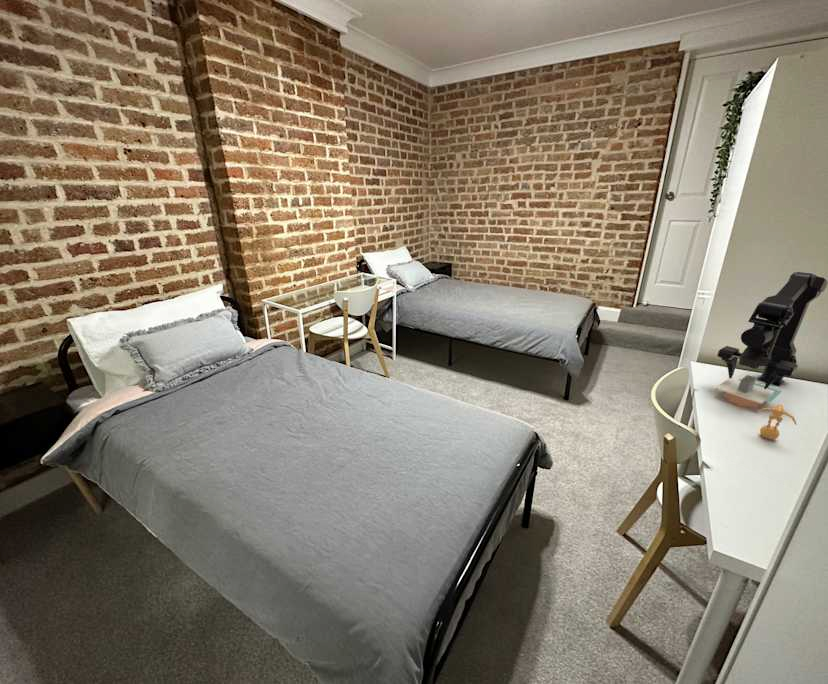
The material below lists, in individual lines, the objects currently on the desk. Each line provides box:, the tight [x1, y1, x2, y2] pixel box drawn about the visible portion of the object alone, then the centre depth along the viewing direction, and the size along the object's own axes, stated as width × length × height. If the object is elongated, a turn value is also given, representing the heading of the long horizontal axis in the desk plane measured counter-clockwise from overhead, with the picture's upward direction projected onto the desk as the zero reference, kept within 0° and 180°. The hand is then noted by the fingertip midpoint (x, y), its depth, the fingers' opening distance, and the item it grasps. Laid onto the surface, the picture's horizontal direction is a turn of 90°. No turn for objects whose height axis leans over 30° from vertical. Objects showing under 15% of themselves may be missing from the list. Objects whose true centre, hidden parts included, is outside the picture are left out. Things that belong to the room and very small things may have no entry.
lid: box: [716, 374, 774, 405], centre depth 122 cm, size 12×12×5 cm
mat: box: [738, 378, 783, 403], centre depth 131 cm, size 12×12×1 cm
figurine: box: [755, 404, 797, 440], centre depth 103 cm, size 8×6×12 cm
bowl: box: [722, 391, 761, 409], centre depth 124 cm, size 9×9×4 cm
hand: (747, 383), depth 122 cm, fingers open, 9 cm apart
